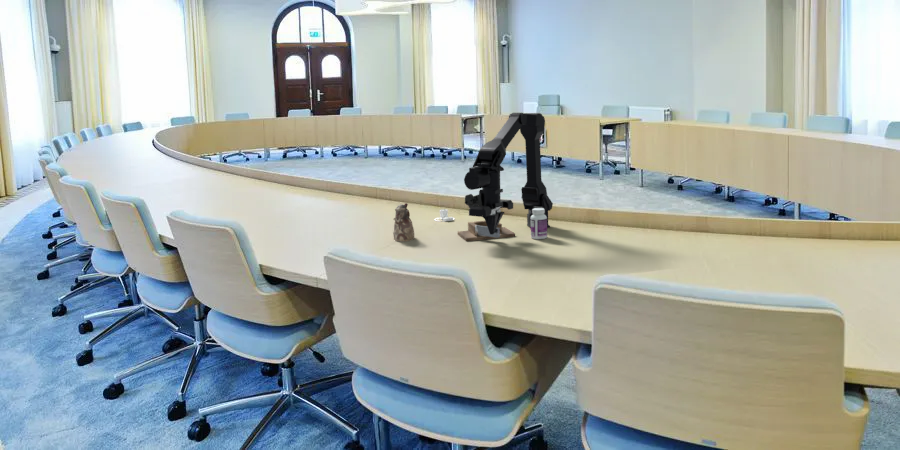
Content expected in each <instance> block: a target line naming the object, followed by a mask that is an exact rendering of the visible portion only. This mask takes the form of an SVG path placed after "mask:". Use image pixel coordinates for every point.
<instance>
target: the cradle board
mask: <svg viewBox="0 0 900 450" xmlns="http://www.w3.org/2000/svg"><path fill="white" fill-rule="evenodd" d="M475 225H480V226H487V224H486V221H485V220H478V221H468V222H467V229H468V230H460V231H459V230H458V231H457V235H458V236H459V237H460V238H462V240H463V241H465V242H473V241H481V240H482V241H484V240H492V239H494V240H495V239H504V238H512V237H516V233H515V232H513V230H510V228H507V227H506V226H502V225H503V224H502V223H500V222H499V224H498V226H497V228H500V237H498V238H496V237H489V236H481V235H475Z"/></svg>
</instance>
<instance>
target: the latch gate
mask: <svg viewBox="0 0 900 450" xmlns="http://www.w3.org/2000/svg"><path fill="white" fill-rule="evenodd" d="M475 235H481V236H489V237H496V238H495V239H499V238H498V237H500V228H496V230H495V232H494V234H493V235H492V234H490V232H489V229H488V227H487V226H480V225H475Z"/></svg>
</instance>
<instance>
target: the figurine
mask: <svg viewBox="0 0 900 450" xmlns="http://www.w3.org/2000/svg"><path fill="white" fill-rule="evenodd" d="M408 205H409V204H408V203H407V202H405V203H404V204H402V203H400V204H398V205H397V207H395V209H394V210H395V217H394V218H393V221H394V225H393V232H392V233H393V240H395V242H410V241H413V240H414V239H415V228H414V225H413V221H412V219H411V218H410V211H409V209H408Z"/></svg>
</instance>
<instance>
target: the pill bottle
mask: <svg viewBox="0 0 900 450" xmlns="http://www.w3.org/2000/svg"><path fill="white" fill-rule="evenodd" d="M532 213H533V215H532V216H531V218H530V220H531V227H530V238H531V239H533V240H544V239H547V238H548V227H547V216H546V215H544V213H545V209H544V208H534V209H532Z"/></svg>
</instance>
